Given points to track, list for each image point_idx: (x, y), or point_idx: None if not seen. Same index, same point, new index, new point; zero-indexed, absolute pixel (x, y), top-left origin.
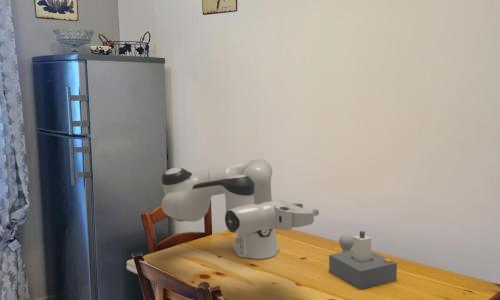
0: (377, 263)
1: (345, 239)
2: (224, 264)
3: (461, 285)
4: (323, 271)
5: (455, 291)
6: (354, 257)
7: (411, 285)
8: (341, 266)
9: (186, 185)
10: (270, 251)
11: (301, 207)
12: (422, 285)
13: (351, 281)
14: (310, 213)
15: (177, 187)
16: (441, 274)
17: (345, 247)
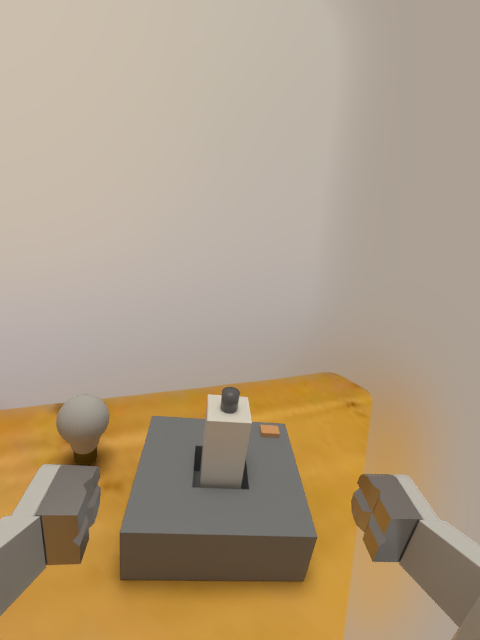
0: (272, 457)
1: (92, 418)
2: None
3: (329, 398)
4: (101, 600)
5: (352, 418)
6: (207, 479)
7: (309, 453)
8: (203, 548)
9: None
10: None
11: (95, 507)
12: (315, 438)
13: (259, 573)
14: None
15: None
16: (277, 390)
17: (93, 440)
